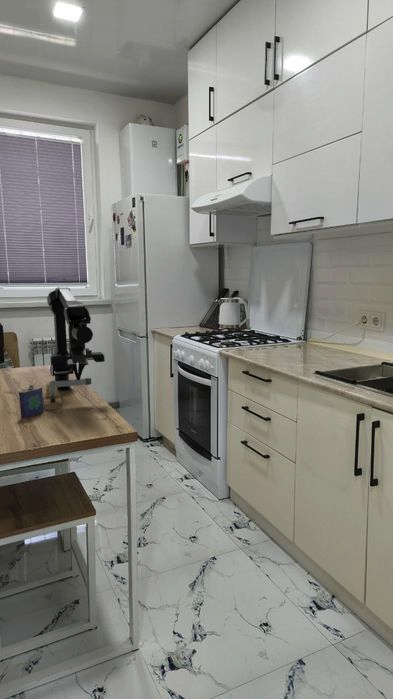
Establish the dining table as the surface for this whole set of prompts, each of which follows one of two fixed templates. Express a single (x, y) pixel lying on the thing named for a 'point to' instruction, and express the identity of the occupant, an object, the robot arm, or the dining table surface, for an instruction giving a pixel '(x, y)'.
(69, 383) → the lever
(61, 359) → the robot arm
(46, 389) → the light wooden cube
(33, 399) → the flask
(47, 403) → the plane body
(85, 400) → the dining table surface
